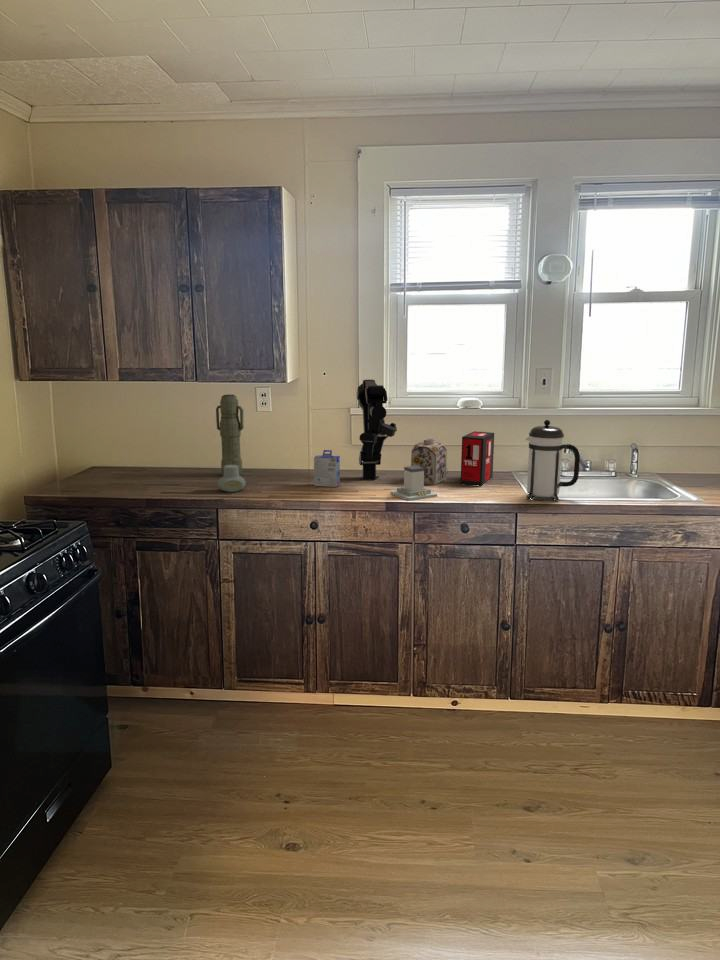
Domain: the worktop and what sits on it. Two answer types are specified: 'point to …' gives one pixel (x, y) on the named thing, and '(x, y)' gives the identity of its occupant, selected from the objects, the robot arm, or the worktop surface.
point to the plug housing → (413, 478)
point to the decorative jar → (430, 460)
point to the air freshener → (231, 479)
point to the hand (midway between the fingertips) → (374, 455)
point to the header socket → (413, 494)
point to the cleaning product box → (477, 458)
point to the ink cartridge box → (327, 470)
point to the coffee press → (547, 461)
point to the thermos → (230, 431)
